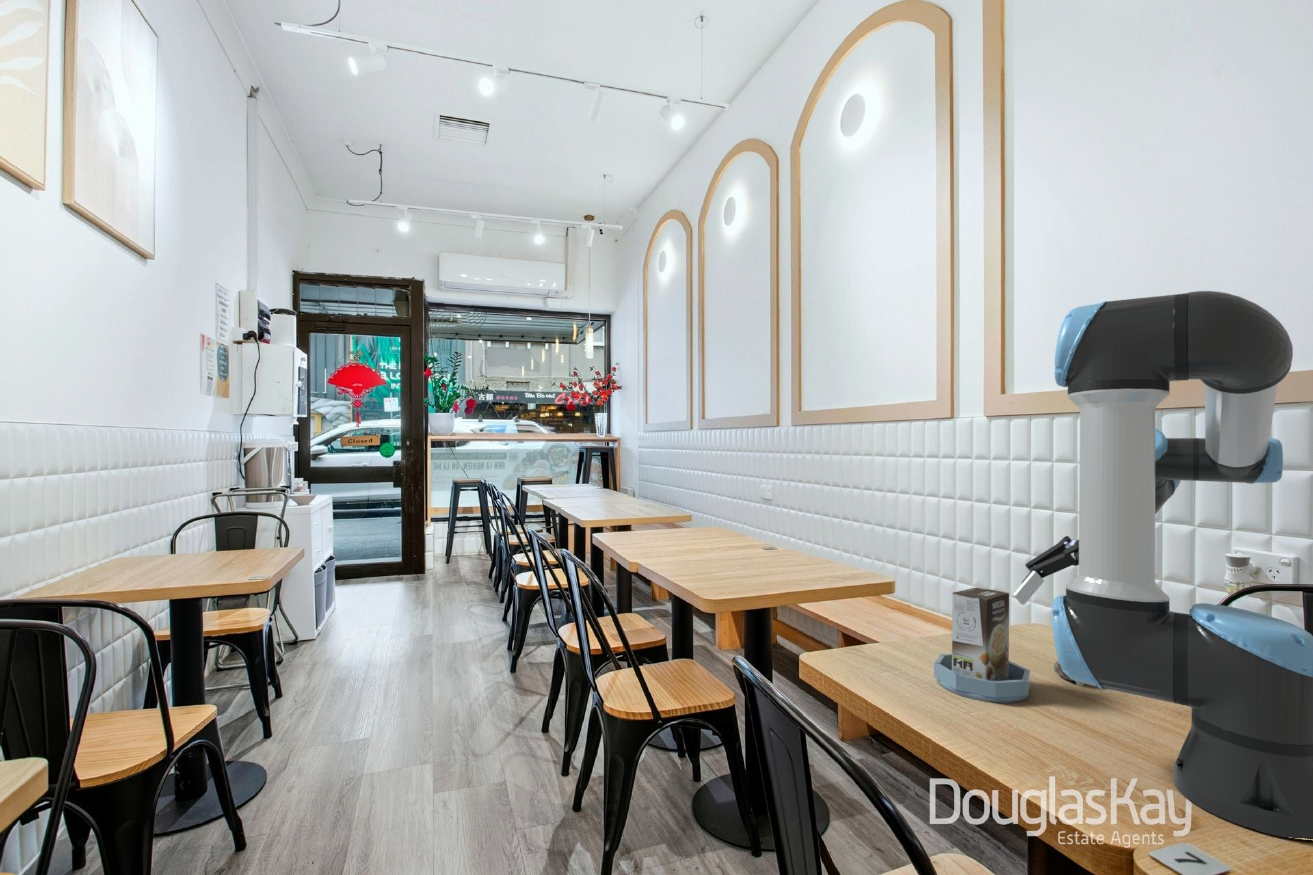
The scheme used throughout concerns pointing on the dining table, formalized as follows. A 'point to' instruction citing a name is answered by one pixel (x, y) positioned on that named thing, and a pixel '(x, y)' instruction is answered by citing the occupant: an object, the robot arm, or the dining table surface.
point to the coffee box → (981, 634)
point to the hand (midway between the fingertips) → (1046, 608)
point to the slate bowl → (983, 683)
